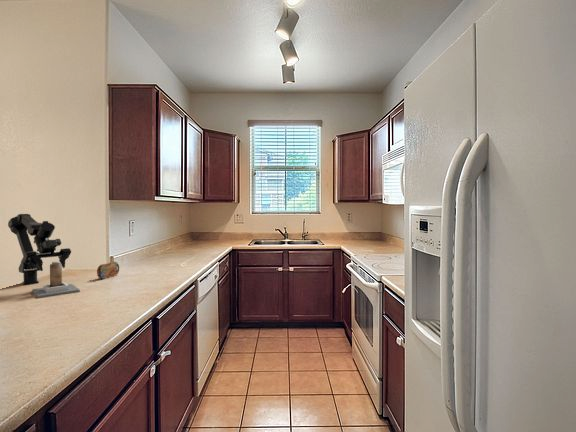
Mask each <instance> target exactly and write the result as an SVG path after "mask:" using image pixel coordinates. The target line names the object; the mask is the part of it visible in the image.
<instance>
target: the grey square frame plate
mask: <svg viewBox="0 0 576 432" xmlns="http://www.w3.org/2000/svg"><path fill="white" fill-rule="evenodd" d="M31 291H32V293H33V294H34V295H35V297H36V298H37V299H40V298H47V297H54V296H55V297H56V296H61V295H66V294H74V293H79V292H81V290H80V288H78V287H77V286H75V285H74V284H72V283H68V284H67V283H66V282H65V281H64V282H62V286H58V287H50V283H49V284H44V285H42V287H40V288H39V287H38V288H32V289H31Z"/></svg>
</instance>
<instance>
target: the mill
mask: <svg viewBox="0 0 576 432" xmlns="http://www.w3.org/2000/svg"><path fill="white" fill-rule="evenodd" d="M62 269H63V267H62V264H61V263H60V261H52V262H51V264H49V284H50V287H58V286H62V283H63V270H62Z"/></svg>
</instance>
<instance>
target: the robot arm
mask: <svg viewBox="0 0 576 432" xmlns="http://www.w3.org/2000/svg"><path fill="white" fill-rule="evenodd" d="M7 226H8V228H9V229H10V231H11V233H13V234H14V235H16V237H17V242H18V244H19V247H20V250H21V253H22V259H21V260H20V264H19V266H18V272H19V273H22V274H23V275H22V276H23V281H21V284H22V285H32V284H39V283H40V281H39V280H38V272H42V271H44V269H43V263H44V262H43V259H45V258H55V257H58V262H60V264H62V269H65V267H66V260H67V259H69V257H70V256H71V253H72V250H71V248H67V247H65V248H60V250H59V251H56V250H57V248H58V247H59V246H61V245H62V241H61V239H60V238H55V239H50V238H51V237H52V235H53V233H54V230H55V229H56V225H54V224H53V223H51V222H49V221H48V220H43V221H42V222H39V221H38V222H37V220H35V219H34V218H33V217H32V216H31V214H30V213H19V214H17V215H16V216H14V217H11V218H10V220H8V223H7ZM29 235H30V237H33V244H35V245H36V248H37V249H36V251H34V248H33V246H32V243H31V240H30V239H31V238H30V237H29ZM55 251H56V252H55ZM42 258H43V259H42Z"/></svg>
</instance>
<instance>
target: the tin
mask: <svg viewBox="0 0 576 432" xmlns="http://www.w3.org/2000/svg"><path fill="white" fill-rule="evenodd" d="M119 272H120V265H119V263H118V262H117V261H110V262H107V263H103V264H99V266H98V267H97V269H96V275H97V277H98V278H99V279H101V280H103V279H104V280H106V279H110V278H113V277H116V276H117V275H118V274H119Z"/></svg>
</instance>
